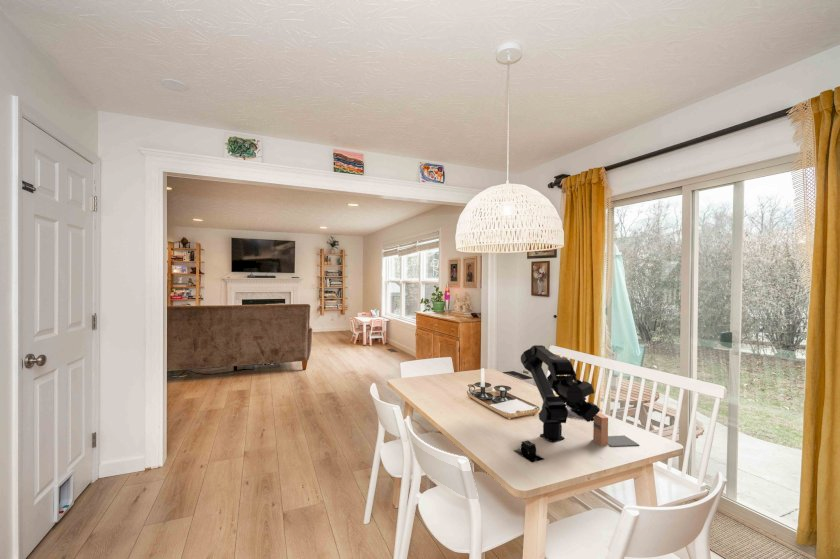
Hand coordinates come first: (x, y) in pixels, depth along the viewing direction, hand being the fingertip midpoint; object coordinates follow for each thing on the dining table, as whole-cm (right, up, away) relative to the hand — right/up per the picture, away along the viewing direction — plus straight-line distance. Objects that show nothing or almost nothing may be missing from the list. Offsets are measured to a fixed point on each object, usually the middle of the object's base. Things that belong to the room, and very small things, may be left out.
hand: (592, 420), depth 138 cm
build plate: (-27, -9, -10) cm, 30 cm away
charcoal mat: (+10, -8, +1) cm, 13 cm away
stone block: (+7, -9, +30) cm, 32 cm away
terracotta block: (+3, -8, 0) cm, 9 cm away
